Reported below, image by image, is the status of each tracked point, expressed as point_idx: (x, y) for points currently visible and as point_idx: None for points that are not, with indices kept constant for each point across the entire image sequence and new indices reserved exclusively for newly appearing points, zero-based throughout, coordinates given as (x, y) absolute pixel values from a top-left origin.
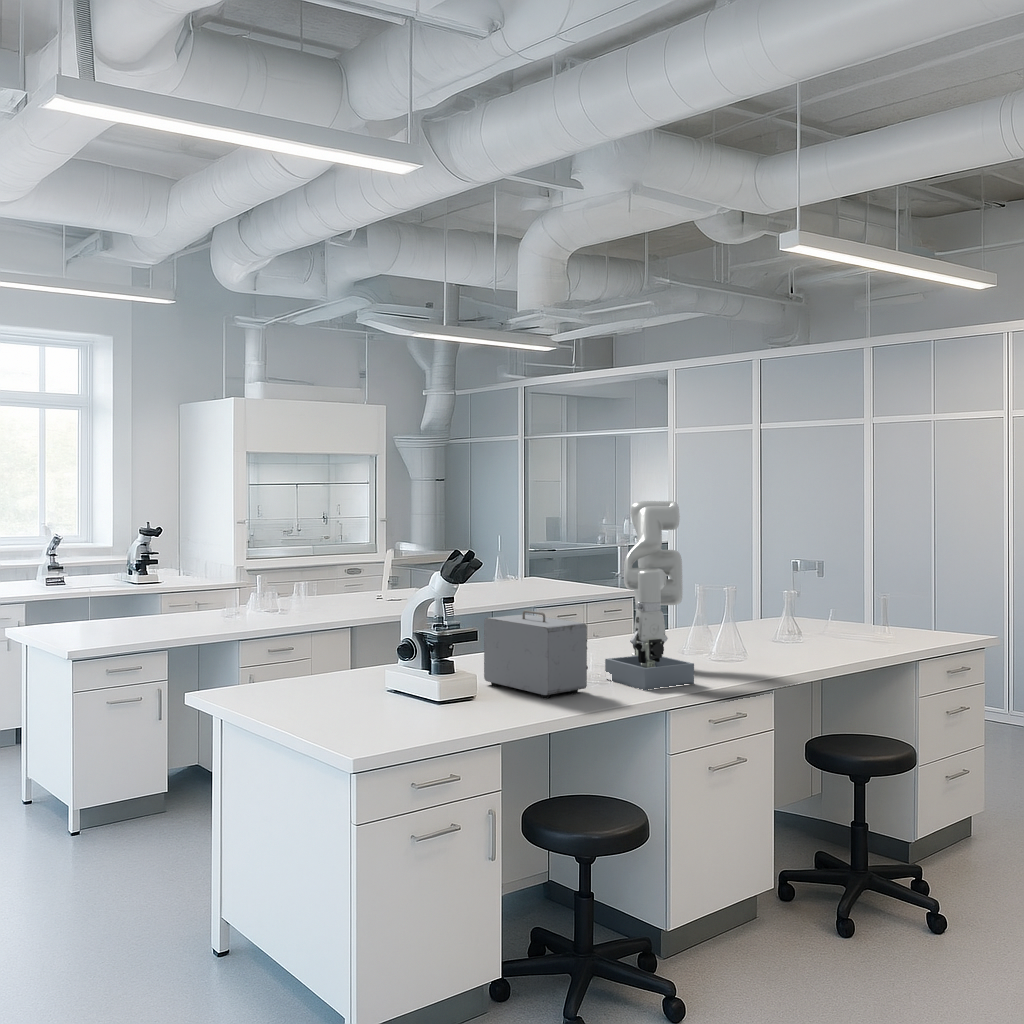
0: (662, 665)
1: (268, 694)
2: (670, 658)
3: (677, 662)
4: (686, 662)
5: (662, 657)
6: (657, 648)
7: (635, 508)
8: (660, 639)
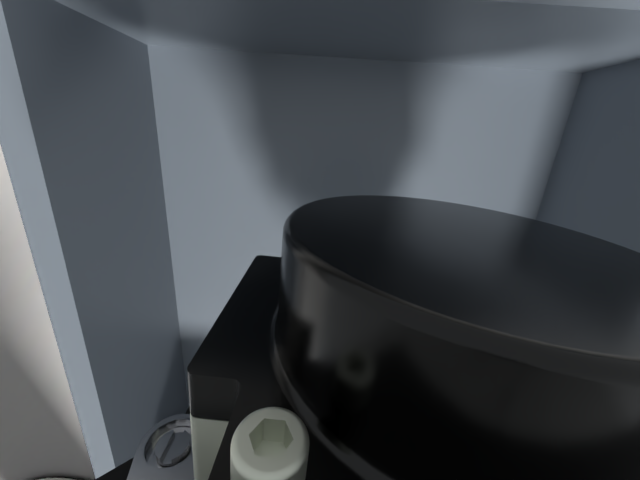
0: (148, 371)
1: None
2: (71, 350)
3: (75, 226)
4: (11, 60)
5: (107, 423)
6: (526, 247)
7: None
8: None
